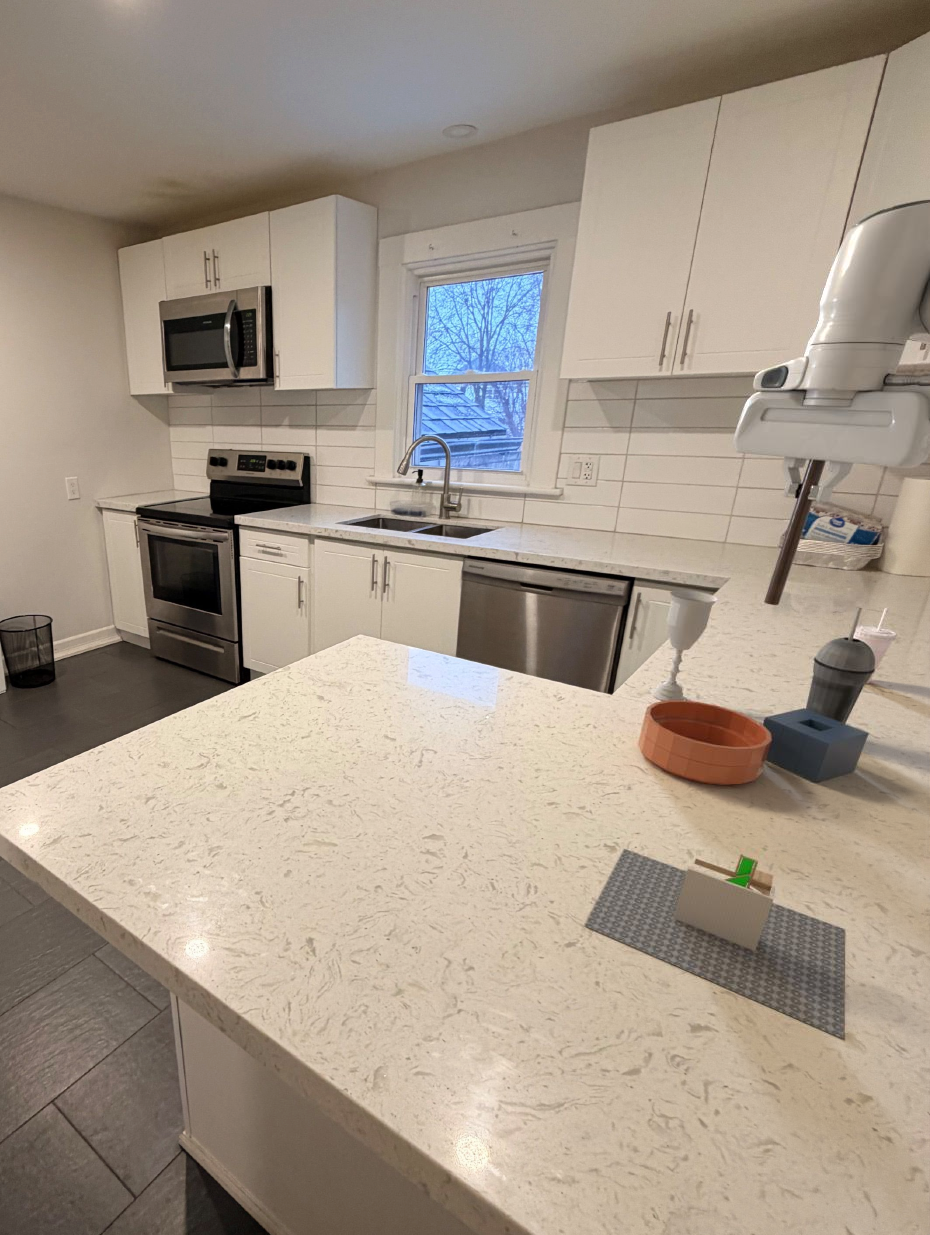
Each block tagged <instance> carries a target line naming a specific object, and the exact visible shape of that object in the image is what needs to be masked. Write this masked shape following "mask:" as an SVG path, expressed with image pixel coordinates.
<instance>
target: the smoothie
mask: <svg viewBox="0 0 930 1235" xmlns="http://www.w3.org/2000/svg"><path fill="white" fill-rule="evenodd" d="M889 610H890V608H889V607H885V608H884V610H883V613H882V616H881V619H880V621H879V624H878V626H872V625H857V627H856V630H855V633H854V637H853V638H855V639H859V640H861V641H863V642H865V643H866V644H867V645H868V646H869V647H870V648H871V650H872V651H873V653H874V656H875V667H874V669H875V671H874V672H873V673H872V675H871V677H870V678H869V680H868V681H867V683H866V684H869V683H870V682H871V681H872V678H873V677H874V675H875V674H876V671H877V670H878V669H879V666H880V664H881V662H882V661H883V659H884V657H885V656H886V653H887V652H888V650H889V648H890V647H891V644H892V643H893V642H894V641H896V639H897V635H898V634H897V633H896V632H894V631H892V630H890V629H887V628H883V626H884V623H885V621H886V618H887V616H888V613H889Z"/></svg>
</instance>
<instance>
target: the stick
mask: <svg viewBox="0 0 930 1235" xmlns="http://www.w3.org/2000/svg"><path fill="white" fill-rule="evenodd" d="M808 460H809V461H808V464H807V466H806V470H805V473H804V476H803V479H802V481H801V483H802V485H801V488H800V492H799V495H798V498H797V499H796V501H795V504H794V508H793V510H792V514H791V517H790V520H789V523H788V526H787V529H786V532H785V536H784V538H783V542H782V545H781V548H780V551H779V554H778V557H777V561H776V564H775V565H774V566H775V567H774V569H773V570H774V571H773V572H772V576H771V579H770V582H769V586H768V588H767V591H766V594H765V598H764V601H763V602H764V604H767V605H771V606H778V605H780V602H781V599H782V596H783V593H784V590H785V586H786V583H787V581H788V577H789V575H790V572H791V570H792V565H793V562H794V559H795V557H796V553H797V550H798V548H799V544H800V541H801V538H802V535H803V532H804V529H805V526H806V524H807V520H808V517H809V515H810V511H811V508H812V506H813V505H812V504H813V503H814V501H810V500H808V496H809V494H810V493H811V492H810V490H811V487H812V485H820V484H819V483H820V481H821V477H822V474H823V472H824V468H825V466H826V462H827V461H823V460H812V459H808Z"/></svg>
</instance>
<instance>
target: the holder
mask: <svg viewBox="0 0 930 1235" xmlns="http://www.w3.org/2000/svg"><path fill="white" fill-rule="evenodd" d="M762 725H764V726H765V727H766V728H767V729H768V731H769V732H770V733H771V737H772V742H771V745H770V748H769V751H768V754H767V757H766V760H765V761H767V762H769V763H771V764H774V765H776V766H778V767H780V768H782V769H784V770H787V771H789V772H791V773H793V774H794V775H797V776H799V777H801V778H803V779H805V780H807V781H809V782H812V783H814V784H817V783H820V782H824V781H827V780H830V779H833V778H837V777H840V776H843V775H846V774H850V773H854V772H855V771H856V769H857V765H858V762H859V760H860V757H861V755H862V752H863V749H864V747H865V744H866V741H867V740H868V736H869V734H870V733H869V732H868V731H864V730H862V729H860V728H856V727H854V726H851V725H850V724H849V725H848V724H846V723H845V724H844V723H841V722H838V721H836V720H833V719H831V718H828V717H825V716H823V715H820V714H818V713H815V712H813V711H810V710H807V709H806V707H803V708H797V709H795V710H789V711H786V712H782V713H777V714H773V715H768V716H765V717H764V720H763V723H762Z"/></svg>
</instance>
